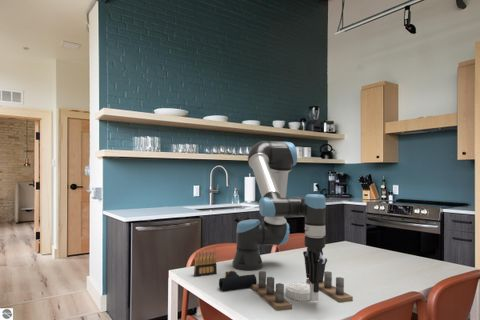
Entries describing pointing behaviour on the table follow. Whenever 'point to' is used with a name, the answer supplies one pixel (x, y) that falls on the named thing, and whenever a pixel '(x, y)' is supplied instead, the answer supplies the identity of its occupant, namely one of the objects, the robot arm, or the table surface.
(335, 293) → the rails
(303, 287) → the mooncake
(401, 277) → the table surface
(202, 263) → the ammunition clip
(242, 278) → the pipe connector
